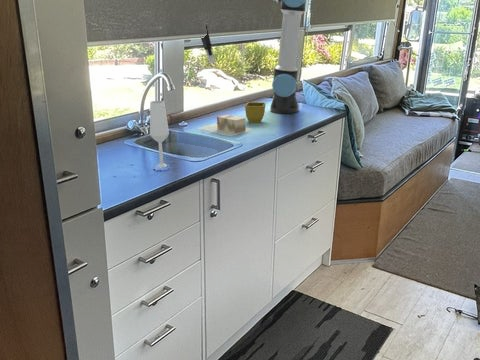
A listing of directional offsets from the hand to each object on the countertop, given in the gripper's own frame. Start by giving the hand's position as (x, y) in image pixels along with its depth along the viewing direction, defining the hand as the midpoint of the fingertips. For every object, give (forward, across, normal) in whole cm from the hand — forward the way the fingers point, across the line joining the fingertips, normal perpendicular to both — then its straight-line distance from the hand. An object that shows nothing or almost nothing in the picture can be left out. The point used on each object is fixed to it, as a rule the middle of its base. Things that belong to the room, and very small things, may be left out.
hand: (212, 62), depth 245 cm
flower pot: (+34, +5, +11) cm, 36 cm away
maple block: (+29, +16, -6) cm, 34 cm away
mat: (+33, +16, -6) cm, 37 cm away
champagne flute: (+40, +63, -39) cm, 84 cm away
